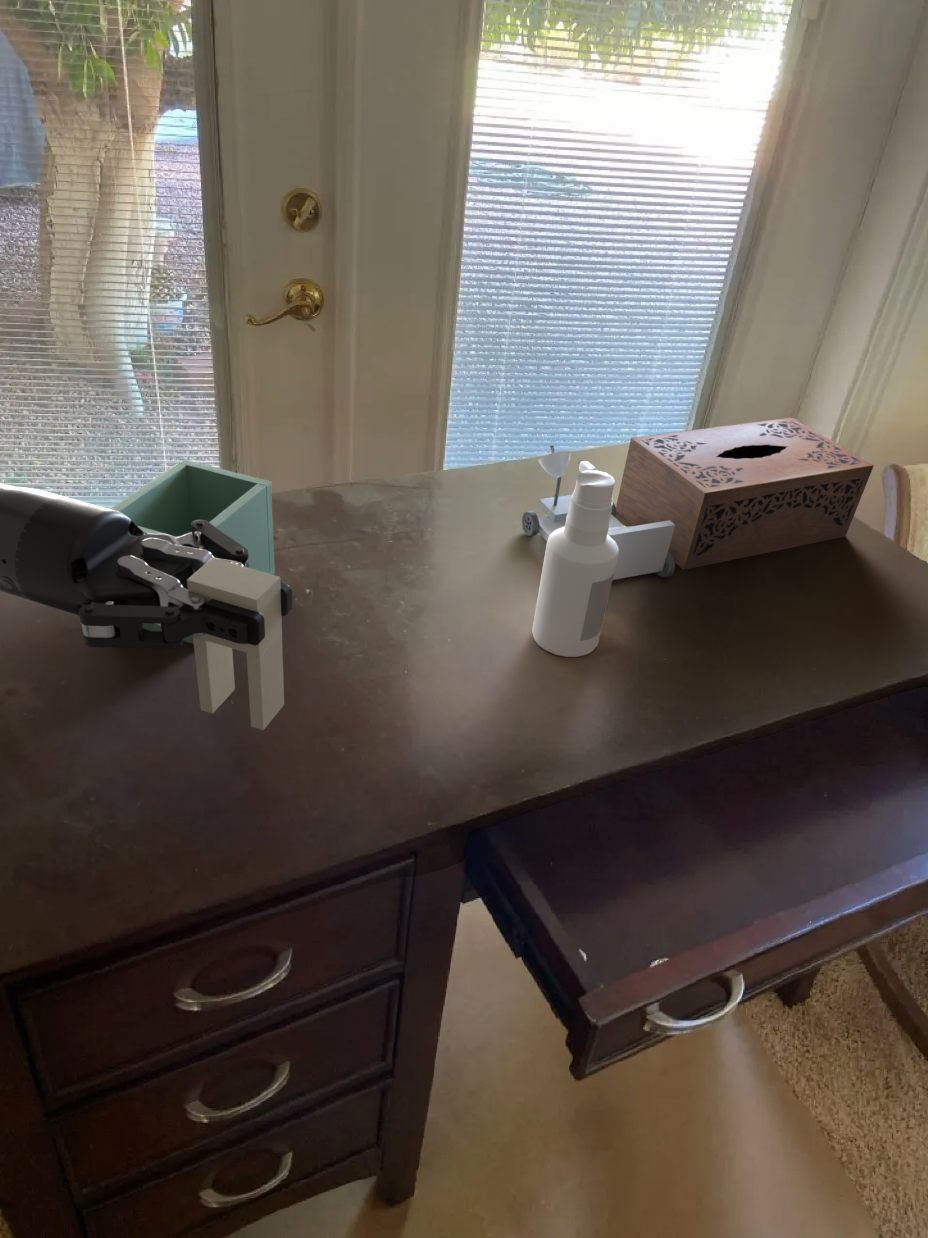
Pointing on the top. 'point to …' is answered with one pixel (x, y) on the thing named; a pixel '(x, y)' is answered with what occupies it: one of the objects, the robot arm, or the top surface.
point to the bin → (207, 510)
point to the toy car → (636, 544)
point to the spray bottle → (578, 571)
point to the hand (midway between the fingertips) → (275, 615)
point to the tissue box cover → (742, 489)
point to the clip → (262, 659)
